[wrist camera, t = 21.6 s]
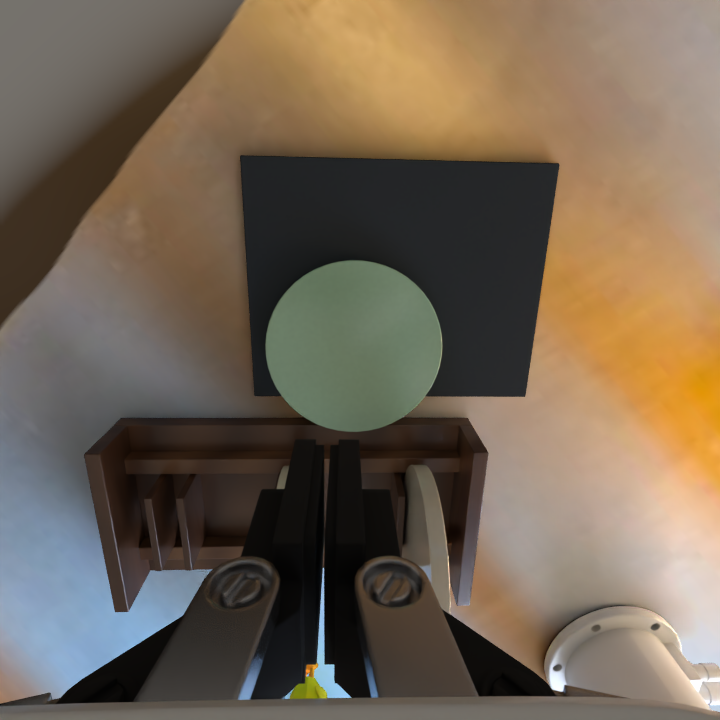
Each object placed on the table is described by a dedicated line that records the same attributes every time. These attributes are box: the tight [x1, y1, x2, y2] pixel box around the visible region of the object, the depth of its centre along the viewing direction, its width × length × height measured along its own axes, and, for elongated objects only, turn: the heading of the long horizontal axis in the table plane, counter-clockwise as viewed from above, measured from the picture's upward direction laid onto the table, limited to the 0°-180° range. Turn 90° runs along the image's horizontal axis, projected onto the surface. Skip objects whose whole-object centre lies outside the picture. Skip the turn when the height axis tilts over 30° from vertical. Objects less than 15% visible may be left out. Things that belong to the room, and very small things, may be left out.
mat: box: [240, 155, 559, 397], centre depth 31 cm, size 20×16×1 cm
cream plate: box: [402, 464, 450, 614], centre depth 29 cm, size 1×12×12 cm, turn 179°
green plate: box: [265, 259, 442, 432], centre depth 31 cm, size 1×12×12 cm
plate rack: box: [84, 418, 488, 612], centre depth 34 cm, size 26×13×5 cm, turn 89°
